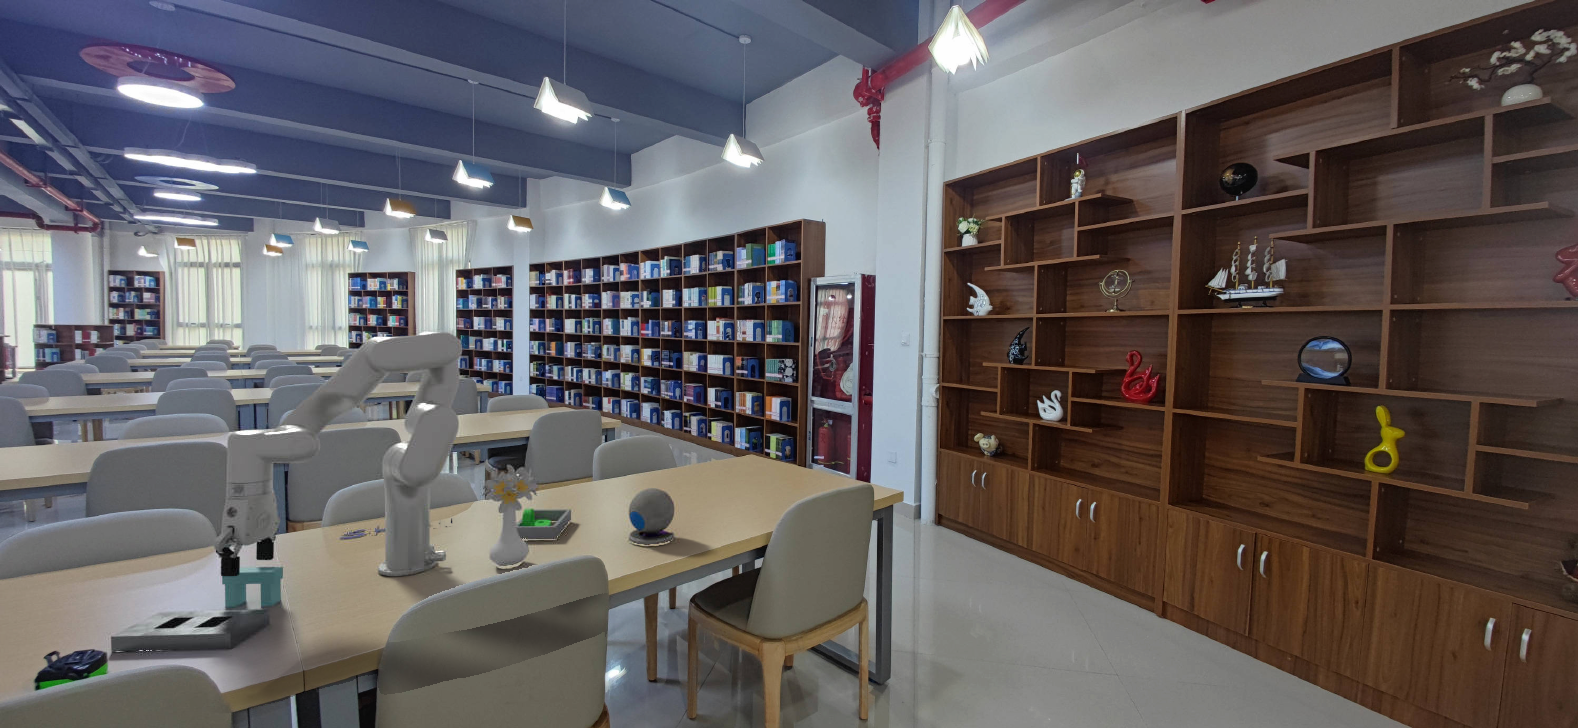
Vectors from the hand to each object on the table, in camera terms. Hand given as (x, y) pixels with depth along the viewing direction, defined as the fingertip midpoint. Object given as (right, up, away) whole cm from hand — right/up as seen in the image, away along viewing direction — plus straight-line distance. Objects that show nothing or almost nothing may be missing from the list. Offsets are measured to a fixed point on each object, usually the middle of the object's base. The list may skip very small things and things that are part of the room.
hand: (248, 567), depth 133 cm
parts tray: (+42, -7, +54) cm, 68 cm away
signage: (-1, -6, +53) cm, 53 cm away
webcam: (+76, -8, +48) cm, 90 cm away
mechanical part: (+41, -7, +53) cm, 67 cm away
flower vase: (+45, -8, +26) cm, 52 cm away
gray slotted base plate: (+2, -9, -14) cm, 17 cm away
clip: (0, -8, +1) cm, 8 cm away
